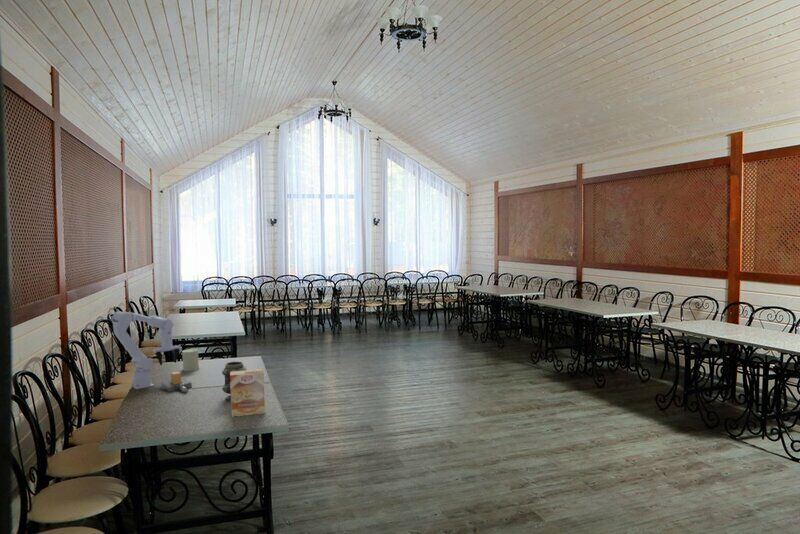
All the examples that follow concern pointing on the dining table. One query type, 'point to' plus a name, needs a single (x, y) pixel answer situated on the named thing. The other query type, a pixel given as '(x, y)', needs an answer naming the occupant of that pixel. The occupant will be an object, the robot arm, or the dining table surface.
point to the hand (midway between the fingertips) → (168, 363)
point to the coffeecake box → (247, 392)
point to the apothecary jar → (226, 371)
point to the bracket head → (177, 386)
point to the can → (190, 359)
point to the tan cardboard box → (175, 378)
